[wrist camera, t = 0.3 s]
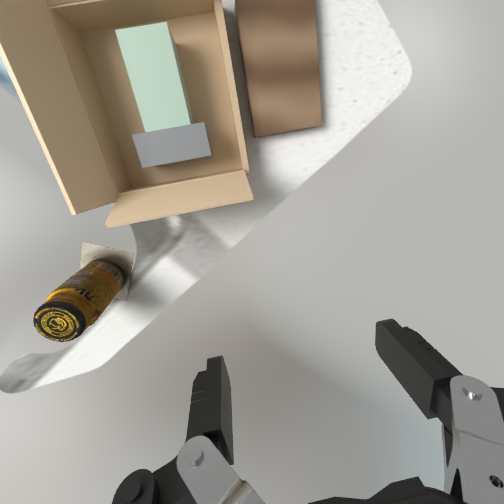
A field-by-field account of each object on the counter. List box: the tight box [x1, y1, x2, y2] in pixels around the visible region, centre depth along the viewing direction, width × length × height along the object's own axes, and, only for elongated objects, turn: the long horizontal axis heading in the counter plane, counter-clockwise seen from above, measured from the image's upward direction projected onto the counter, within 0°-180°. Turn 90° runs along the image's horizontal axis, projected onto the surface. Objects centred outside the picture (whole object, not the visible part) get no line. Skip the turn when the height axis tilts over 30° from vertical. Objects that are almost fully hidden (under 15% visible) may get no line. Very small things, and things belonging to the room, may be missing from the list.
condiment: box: [34, 242, 134, 342], centre depth 33 cm, size 7×8×12 cm
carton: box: [0, 0, 254, 228], centre depth 27 cm, size 22×18×12 cm
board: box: [235, 0, 322, 138], centre depth 31 cm, size 14×9×2 cm, turn 10°
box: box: [115, 22, 213, 168], centre depth 29 cm, size 12×8×5 cm, turn 10°
